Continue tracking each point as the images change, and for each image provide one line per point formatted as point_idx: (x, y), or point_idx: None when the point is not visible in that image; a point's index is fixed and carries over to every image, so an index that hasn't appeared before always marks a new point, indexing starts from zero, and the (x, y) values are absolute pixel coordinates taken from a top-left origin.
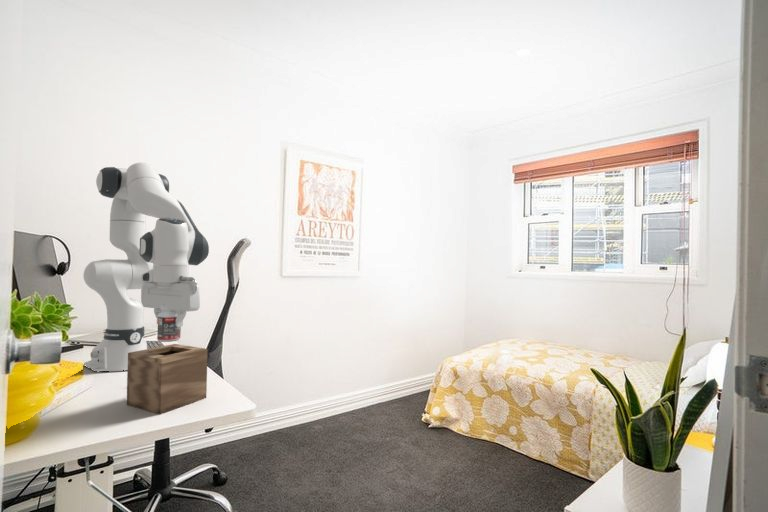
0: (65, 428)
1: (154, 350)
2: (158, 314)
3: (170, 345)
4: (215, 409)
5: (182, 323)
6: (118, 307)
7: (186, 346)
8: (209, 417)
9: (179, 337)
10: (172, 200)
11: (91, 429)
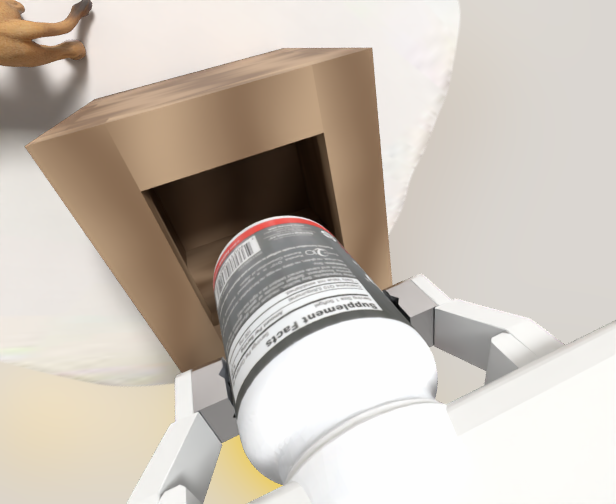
0: None
1: (192, 288)
2: (198, 482)
3: (89, 192)
4: (393, 85)
5: (433, 284)
6: None
7: (198, 118)
8: (424, 126)
9: (330, 233)
10: None
11: None
